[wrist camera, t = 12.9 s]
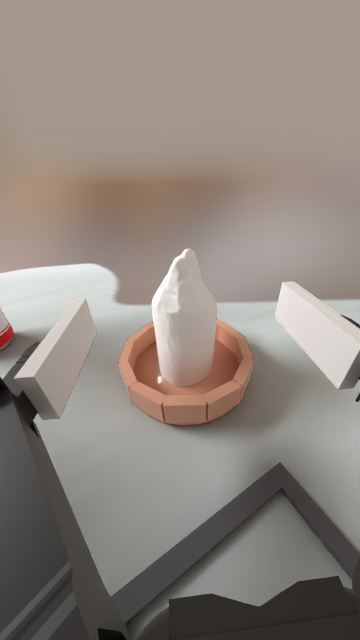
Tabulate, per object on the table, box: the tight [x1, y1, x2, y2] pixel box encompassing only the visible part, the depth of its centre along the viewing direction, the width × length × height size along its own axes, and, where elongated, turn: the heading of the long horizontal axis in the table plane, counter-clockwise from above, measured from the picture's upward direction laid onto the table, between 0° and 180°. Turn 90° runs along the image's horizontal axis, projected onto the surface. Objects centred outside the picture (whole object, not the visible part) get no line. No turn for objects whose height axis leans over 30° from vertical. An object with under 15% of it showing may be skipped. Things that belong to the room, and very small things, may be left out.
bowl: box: [118, 320, 254, 426], centre depth 21 cm, size 13×13×3 cm
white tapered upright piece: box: [152, 248, 217, 387], centre depth 19 cm, size 6×12×6 cm
